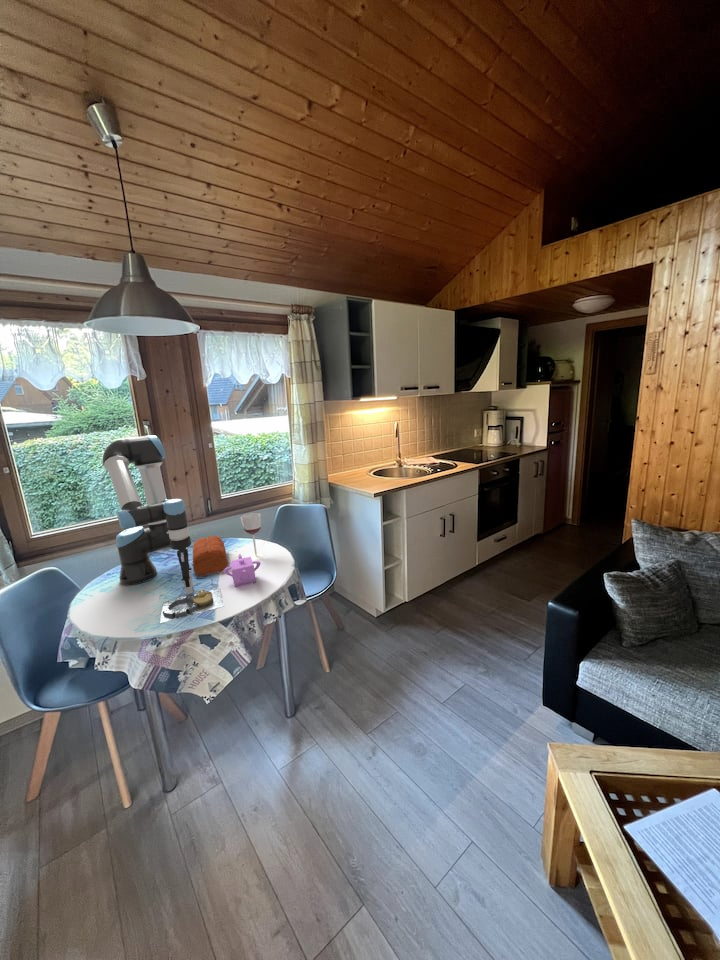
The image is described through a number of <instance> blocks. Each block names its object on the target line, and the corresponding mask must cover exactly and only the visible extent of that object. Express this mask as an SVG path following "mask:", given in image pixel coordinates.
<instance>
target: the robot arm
mask: <svg viewBox="0 0 720 960" xmlns="http://www.w3.org/2000/svg"><path fill="white" fill-rule="evenodd" d="M164 459H166V453H165V449H164V446H163V443H162V442H161V440H160V438H159V437H158V436H157V435H151V434H150V435H141V436H133V437H125V438H124V437H122V438H118V439H115V440H113V441H112V442H110V444H108V445H107V447H106V448H105V450H104V452H103V455H102V464H103V467H104V469H105V470H106V471H107V472H108V474H109V477H110V479H111V482H112V486H113V489H114V492H115V496H116V498H117V502H118V504H119V507H120V510H118V511H117V513H116V515H117V520H118V523H119V524H118V525H119V526H120V529H123V530H122V531H121V532H120V531H119V533H118V534H117V535H116V537H115V543H116V545H115V546H116V548H117V552H118V557H119V561H120V570H119V571H120V572H119V582H120V584H121V585H124V586H133V585H138V584H142V583H144V582H147V581H149V580H152V579H153V578H154V577H156V576H157V575H158V572H157V567H156V566H155V565H154V563H153V561H152V560H151V558H150V554H152V553H155V552H159V551H162V550H165V549H171V550H177V551H176V552H177V553H176V555H177V559H178V563H179V566H180V569H181V570H180V572H181V576H182V578H181V579H180V581H182V582H183V587H184V593H185V595H189V594H190V595H191V594H194V591H193V590H192V584H191V578H192V577H191V578H190V576H189V575H191V576H192V574H191V571H192V569H193V567H190V566H191V565H190V561H189V550H188V548H189V547H191V545H192V539H191V536H190V535H191V534H190V527H189V524H188V518H187V511H186V505H185V501H184V500H183V499H182V498H172V499H168V498H167V494H166V489H165V485H164V479H163V477H162V476H163V474H162V470H161V466H162V464H163V460H164ZM130 464H133V465H134V468H136V469H138V470H139V474H140V478H141V482H142V487H143V492H144V496H145V500H146V505H143V503H142V501H141V498H140V495H139V492H138V489H137V486H136V484H135V481H134V478H133V476H132V473H131V470H130V468H129V466H130ZM145 525H147V528H145V527H143V526H145Z"/></svg>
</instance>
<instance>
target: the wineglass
mask: <svg viewBox="0 0 720 960" xmlns="http://www.w3.org/2000/svg"><path fill="white" fill-rule="evenodd" d="M240 519H241V520H240V521H241V524H242V528H243V530H244V531H245V533H247V534H250V535H252V541H253V548H254V554H252V555H250V556H249V557H251V559H252V562H253V561H261V560H263V559H264V558H265V557H266V556H265V554H264V553H263V554H262V553H258V552H257V546H256V540H255V539H256V538H255V534H257V533H258V532H259V531H260V530H261V527H262V515H261V513H259V512H251V513H250V512H249V513H245V514H243V515H241V516H240Z"/></svg>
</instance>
